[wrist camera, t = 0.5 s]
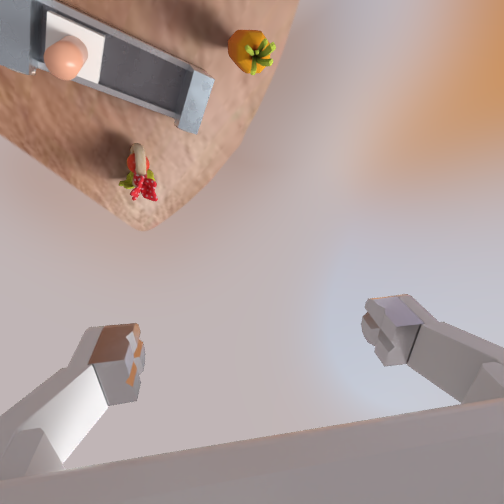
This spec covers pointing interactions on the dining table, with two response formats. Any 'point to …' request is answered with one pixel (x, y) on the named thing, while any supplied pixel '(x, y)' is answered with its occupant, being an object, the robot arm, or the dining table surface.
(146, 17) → the dining table surface
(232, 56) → the carrot
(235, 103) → the dining table surface
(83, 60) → the carriage
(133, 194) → the decorative toy figure
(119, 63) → the rail track
